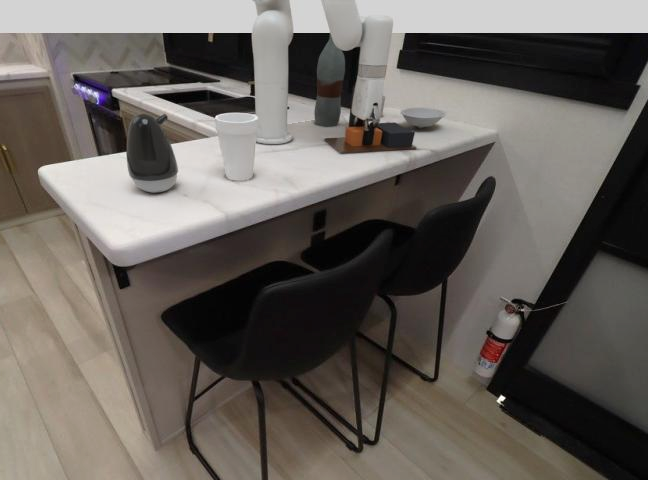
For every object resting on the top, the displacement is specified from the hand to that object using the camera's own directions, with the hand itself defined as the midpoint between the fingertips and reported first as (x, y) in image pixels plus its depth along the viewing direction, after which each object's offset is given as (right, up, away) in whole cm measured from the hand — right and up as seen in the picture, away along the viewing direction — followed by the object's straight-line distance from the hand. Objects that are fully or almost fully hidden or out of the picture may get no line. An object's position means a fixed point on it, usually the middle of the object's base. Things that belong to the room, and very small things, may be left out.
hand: (362, 141), depth 113 cm
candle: (+1, +10, +15) cm, 18 cm away
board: (+2, -1, +1) cm, 3 cm away
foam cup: (-34, -18, -22) cm, 45 cm away
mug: (+9, +23, +33) cm, 41 cm away
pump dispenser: (-51, -23, -30) cm, 64 cm away
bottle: (-9, +15, +21) cm, 27 cm away
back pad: (+9, +1, +3) cm, 10 cm away
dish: (+24, +13, +20) cm, 34 cm away
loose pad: (0, 0, 0) cm, 1 cm away
